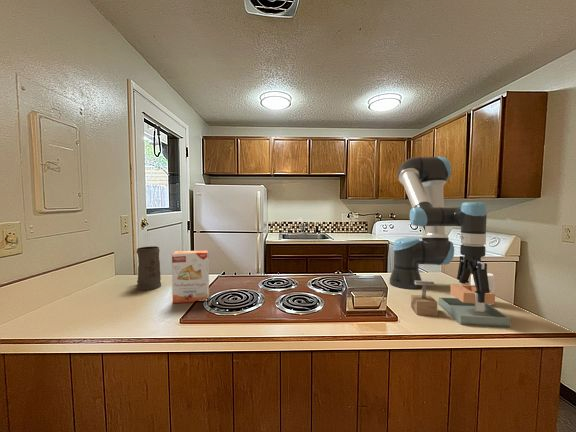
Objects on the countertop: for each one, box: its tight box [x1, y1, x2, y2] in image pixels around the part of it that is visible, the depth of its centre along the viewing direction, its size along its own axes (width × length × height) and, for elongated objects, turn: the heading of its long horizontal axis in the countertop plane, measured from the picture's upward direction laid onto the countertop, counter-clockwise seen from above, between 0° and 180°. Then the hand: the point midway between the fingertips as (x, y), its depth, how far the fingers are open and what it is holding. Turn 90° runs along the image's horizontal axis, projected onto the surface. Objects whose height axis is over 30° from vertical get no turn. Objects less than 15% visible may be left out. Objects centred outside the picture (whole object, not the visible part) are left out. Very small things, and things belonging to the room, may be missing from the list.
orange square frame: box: [450, 284, 496, 305], centre depth 99 cm, size 10×11×4 cm
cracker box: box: [171, 250, 210, 304], centre depth 114 cm, size 14×6×21 cm, turn 100°
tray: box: [438, 297, 512, 328], centre depth 99 cm, size 18×15×3 cm
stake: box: [410, 280, 438, 317], centre depth 102 cm, size 7×7×12 cm
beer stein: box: [136, 245, 162, 291], centre depth 135 cm, size 15×11×20 cm
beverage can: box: [470, 272, 496, 306], centre depth 111 cm, size 8×8×12 cm
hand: (471, 305), depth 99 cm, fingers closed on orange square frame, 10 cm apart
